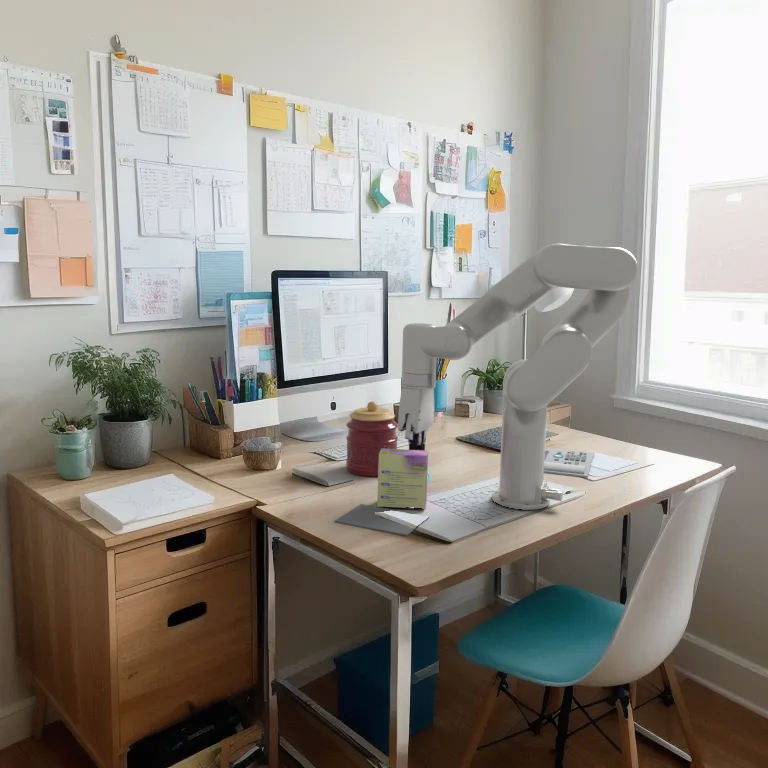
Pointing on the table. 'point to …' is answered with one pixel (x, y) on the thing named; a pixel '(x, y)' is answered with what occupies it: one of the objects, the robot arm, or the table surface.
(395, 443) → the canister
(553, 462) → the office telephone
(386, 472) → the box
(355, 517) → the mat
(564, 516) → the table surface
